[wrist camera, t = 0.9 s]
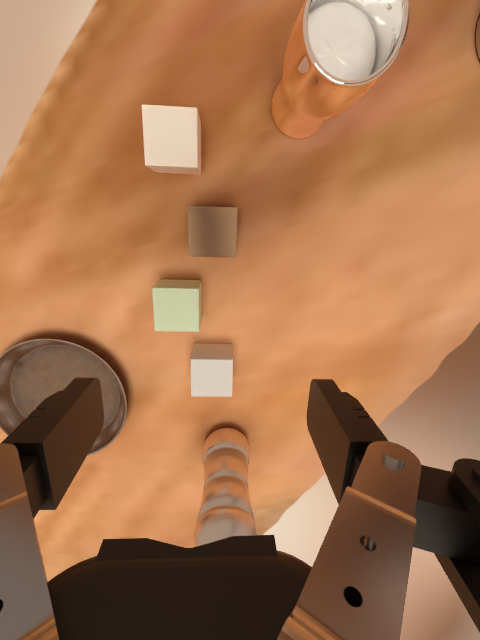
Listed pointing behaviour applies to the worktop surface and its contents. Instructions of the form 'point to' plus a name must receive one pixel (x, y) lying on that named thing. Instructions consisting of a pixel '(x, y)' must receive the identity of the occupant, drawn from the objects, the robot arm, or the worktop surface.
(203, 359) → the grey block
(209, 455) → the plastic bottle
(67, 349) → the plant saucer
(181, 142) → the white block
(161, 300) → the green block
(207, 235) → the walnut block
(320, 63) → the beer glass
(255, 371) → the worktop surface
